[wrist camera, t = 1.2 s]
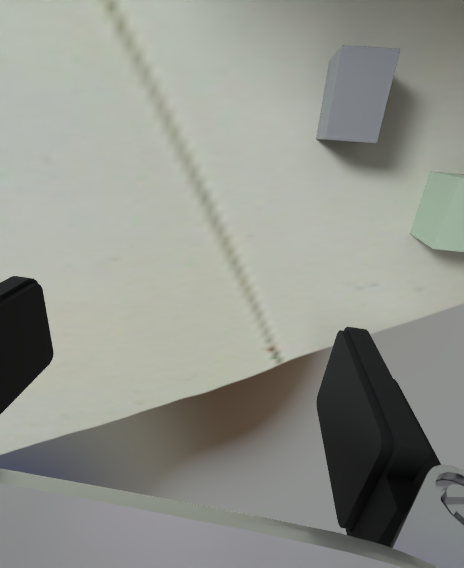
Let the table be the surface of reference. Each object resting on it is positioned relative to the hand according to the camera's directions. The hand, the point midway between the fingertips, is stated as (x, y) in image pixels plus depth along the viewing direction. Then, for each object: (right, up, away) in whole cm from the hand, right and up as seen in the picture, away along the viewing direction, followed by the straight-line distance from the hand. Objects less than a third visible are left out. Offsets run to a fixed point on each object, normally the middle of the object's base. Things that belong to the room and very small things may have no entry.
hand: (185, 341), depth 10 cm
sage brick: (+22, +9, +20) cm, 31 cm away
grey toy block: (+12, +18, +18) cm, 28 cm away
